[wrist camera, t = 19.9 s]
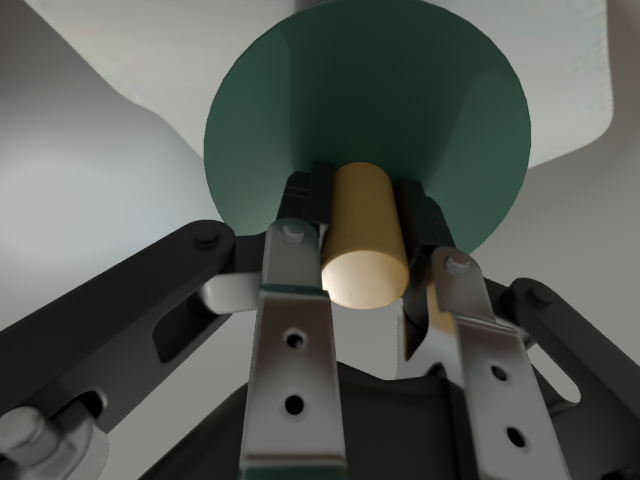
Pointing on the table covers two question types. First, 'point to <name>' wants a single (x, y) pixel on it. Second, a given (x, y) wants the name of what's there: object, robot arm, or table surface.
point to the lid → (370, 132)
